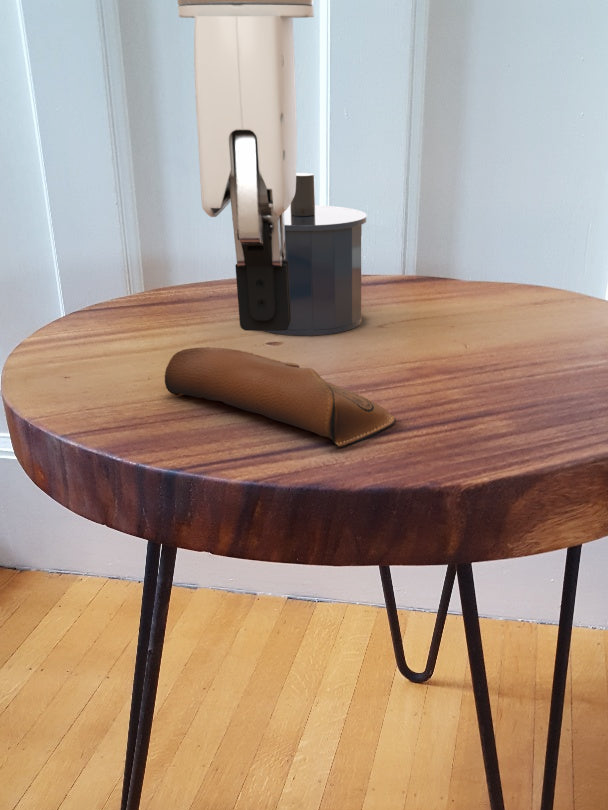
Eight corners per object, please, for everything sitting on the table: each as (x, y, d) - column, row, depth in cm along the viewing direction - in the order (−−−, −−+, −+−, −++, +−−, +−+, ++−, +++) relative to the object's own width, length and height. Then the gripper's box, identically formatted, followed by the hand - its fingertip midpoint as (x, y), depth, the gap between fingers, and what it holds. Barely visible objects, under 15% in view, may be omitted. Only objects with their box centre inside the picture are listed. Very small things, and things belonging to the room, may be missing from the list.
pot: (299, 342, 91) (296, 235, 86) (227, 319, 98) (220, 219, 93) (384, 321, 98) (385, 221, 93) (311, 302, 105) (308, 207, 100)
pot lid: (295, 243, 86) (294, 186, 83) (213, 225, 93) (209, 173, 91) (393, 227, 93) (394, 175, 91) (309, 212, 100) (308, 163, 98)
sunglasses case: (405, 415, 73) (377, 347, 67) (354, 483, 71) (321, 419, 65) (239, 369, 82) (203, 307, 77) (190, 429, 80) (150, 369, 75)
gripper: (199, -9, 59) (225, 301, 69) (148, -20, 47) (189, 359, 57) (320, -9, 59) (328, 301, 69) (302, -21, 47) (315, 360, 57)
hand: (266, 326), depth 63 cm, fingers closed
